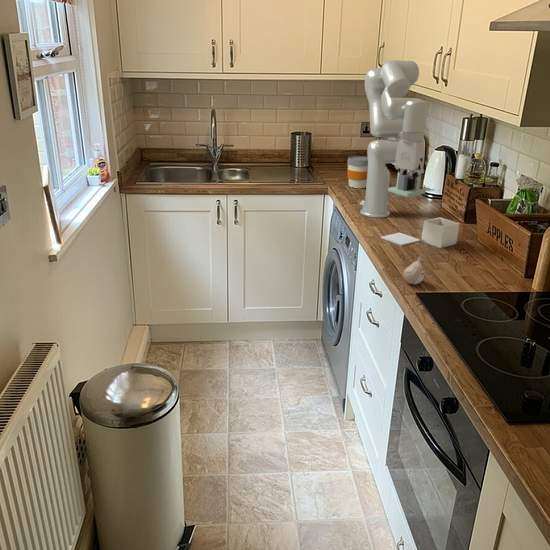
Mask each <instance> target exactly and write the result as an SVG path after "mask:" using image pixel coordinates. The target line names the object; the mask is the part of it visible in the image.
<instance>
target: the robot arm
mask: <svg viewBox="0 0 550 550" xmlns="http://www.w3.org/2000/svg"><path fill="white" fill-rule="evenodd" d="M419 76H420V69H419V66H418V64H417V63H416V61H414V60H413V61H412V60H399V59H398V60H389V61H386V62H385V63H384V64H382V66H381V67H378V68H372V69H369V70H368V71H367V72H366V73H365V76H364V90H365V94H366V95H365V96H366V97H367V98H366V99H367V101H368V107H369V129H370V130H369V131H370V133H371V134H370V135H372V136H373V137H375V138H391V139H376V140H375V139H374V140H372V141H371V142H369V144H368V145H367V153H366V154H367V157H368V173H367V185H366V189H365V197H364V198H365V199H364V200H361V201H360V202H359V206H361V207H362V208H361V209H360V211H359V212H360V214H361V215H363V216H365V217H370V218H386V217H389V216H390V214H391V211H389V210H388V209H387V208H388V201H389V200H388V199H389V197H388V196H389V191H388V188H390V182H391V181H390V180H391V179H390V178H391V173H390V170H389V169H388V167H387V166H386V165H387V164H394V168H395V170H397V173H398V172H399V174H400V175H407V172H408V170H410V179H408V186H407V190H412V189H414V186H415V179H416V178H417V177H418V176H419V175H420V174H421V175H422V174H424V173H425V169H424V164H425V155H426V153H425V152H426V151H425V141H424V138H425V137H424V136H425V128H426V123H427V122H426V120H427V114H428V102H427V101H426V100H423V99H420V98H415V97H413V98H412V97H405V96H406V95H407V94H408V93H409V91H410V89H411V87H412V86H413V85H414V84H415V83H416V82H417V81H418V79H419ZM392 138H394V139H392ZM413 172H414V174H413Z"/></svg>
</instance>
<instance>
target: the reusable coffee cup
mask: <svg viewBox="0 0 550 550" xmlns="http://www.w3.org/2000/svg"><path fill="white" fill-rule="evenodd" d="M346 163H347V168H346V169H347V173H346V174H347V178H348V187H349V186H350V187H354V188H365V187H366V185H367V173H368V156H363V155H362V156H361V155H353V156H348V158H347V162H346Z"/></svg>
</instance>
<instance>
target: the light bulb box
mask: <svg viewBox="0 0 550 550" xmlns="http://www.w3.org/2000/svg"><path fill="white" fill-rule="evenodd" d="M407 174H410V170H408V172H407ZM413 174H414V172H413ZM399 175H400V174H399V172H398V171H397V178H396V187H398V178H399ZM421 178H422V174H420V175H419V176H418V179H417V187H416V188H419V189H420V186H421Z"/></svg>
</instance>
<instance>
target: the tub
mask: <svg viewBox="0 0 550 550" xmlns="http://www.w3.org/2000/svg"><path fill="white" fill-rule="evenodd" d="M459 228H460V222H457V221H454V220H450V219H446V218H443V217H435V218H431V219H426V220H424V221H423V226H422V233H421V239H420V242H422V243H425V244H428V245H430V246H434V247H436V248H439V249H442V248H446V247H451V246H454V245H457V242H458V236H459V235H458V234H459Z"/></svg>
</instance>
